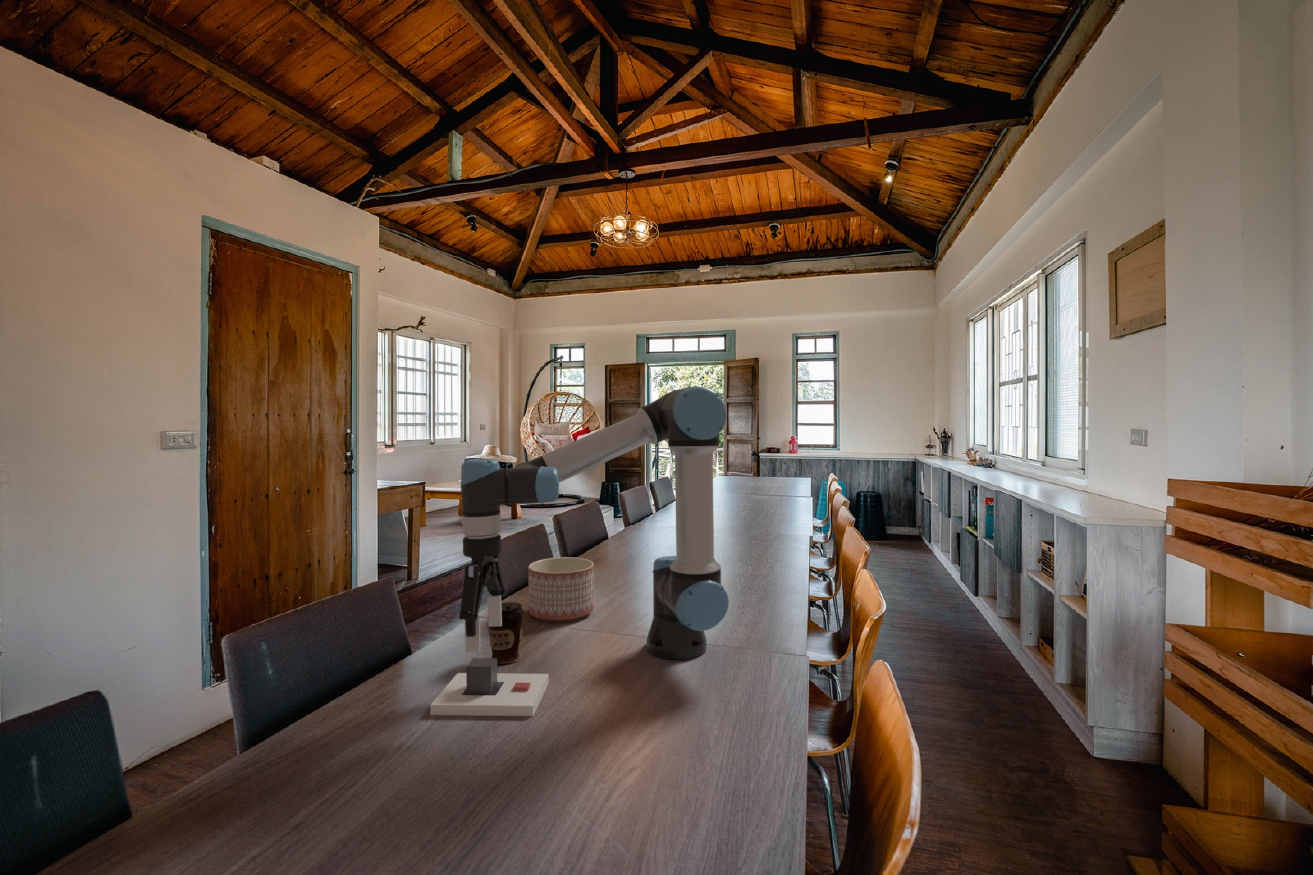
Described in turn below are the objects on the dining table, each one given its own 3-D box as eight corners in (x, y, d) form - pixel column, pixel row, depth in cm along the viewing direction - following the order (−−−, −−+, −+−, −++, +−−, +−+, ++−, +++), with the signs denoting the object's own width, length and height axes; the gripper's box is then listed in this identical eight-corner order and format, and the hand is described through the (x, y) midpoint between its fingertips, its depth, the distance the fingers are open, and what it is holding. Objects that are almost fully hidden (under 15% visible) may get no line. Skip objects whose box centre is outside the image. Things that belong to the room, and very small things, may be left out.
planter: (606, 610, 170) (606, 562, 170) (564, 630, 154) (563, 576, 153) (559, 600, 180) (559, 554, 180) (514, 617, 164) (514, 567, 164)
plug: (497, 691, 117) (497, 658, 117) (491, 701, 113) (490, 666, 113) (473, 691, 117) (473, 658, 117) (466, 700, 113) (466, 666, 113)
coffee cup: (513, 668, 129) (513, 612, 129) (480, 665, 131) (480, 610, 130) (529, 653, 138) (529, 601, 137) (498, 651, 139) (498, 599, 139)
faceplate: (548, 683, 122) (548, 670, 122) (533, 716, 108) (532, 701, 108) (457, 682, 122) (457, 669, 122) (430, 715, 108) (430, 700, 108)
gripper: (484, 524, 127) (486, 617, 128) (438, 549, 102) (442, 664, 103) (516, 523, 127) (519, 616, 127) (479, 548, 102) (482, 663, 102)
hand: (484, 638), depth 115 cm, fingers open, 13 cm apart
